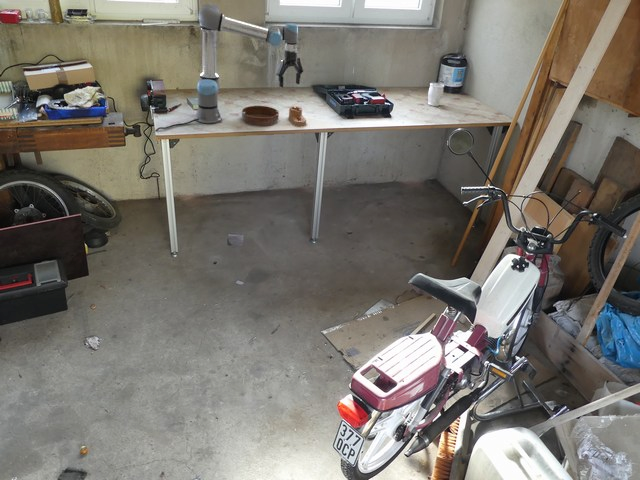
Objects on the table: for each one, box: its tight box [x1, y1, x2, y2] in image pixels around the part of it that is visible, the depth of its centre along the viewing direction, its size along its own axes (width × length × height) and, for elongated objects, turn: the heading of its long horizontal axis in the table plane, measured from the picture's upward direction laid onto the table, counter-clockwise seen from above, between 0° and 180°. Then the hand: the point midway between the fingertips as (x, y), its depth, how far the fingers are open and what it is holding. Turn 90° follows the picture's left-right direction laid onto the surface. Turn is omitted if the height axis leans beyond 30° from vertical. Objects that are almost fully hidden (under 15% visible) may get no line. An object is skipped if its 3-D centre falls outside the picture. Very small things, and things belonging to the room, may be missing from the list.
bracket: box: [288, 105, 307, 127], centre depth 338 cm, size 18×8×7 cm, turn 19°
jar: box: [427, 82, 445, 107], centre depth 391 cm, size 11×10×15 cm
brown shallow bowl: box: [241, 105, 280, 127], centre depth 335 cm, size 23×23×6 cm
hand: (289, 85), depth 336 cm, fingers open, 13 cm apart
